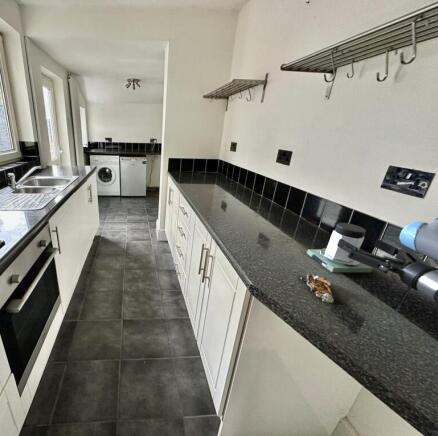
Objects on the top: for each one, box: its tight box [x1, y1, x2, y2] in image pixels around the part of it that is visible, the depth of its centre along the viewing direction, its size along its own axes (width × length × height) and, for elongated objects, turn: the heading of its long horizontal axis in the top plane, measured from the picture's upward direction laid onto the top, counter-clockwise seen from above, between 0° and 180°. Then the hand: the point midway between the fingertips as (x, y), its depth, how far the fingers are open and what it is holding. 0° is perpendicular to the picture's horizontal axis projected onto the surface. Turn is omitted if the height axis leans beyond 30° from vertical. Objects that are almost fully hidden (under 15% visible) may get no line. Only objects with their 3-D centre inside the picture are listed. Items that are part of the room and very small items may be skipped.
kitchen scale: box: [306, 248, 374, 273], centre depth 88 cm, size 15×13×2 cm
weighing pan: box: [319, 247, 360, 267], centre depth 88 cm, size 12×12×1 cm
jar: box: [325, 222, 367, 262], centre depth 85 cm, size 9×8×12 cm
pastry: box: [300, 272, 335, 304], centre depth 72 cm, size 7×12×4 cm, turn 174°
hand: (357, 242), depth 81 cm, fingers open, 13 cm apart
